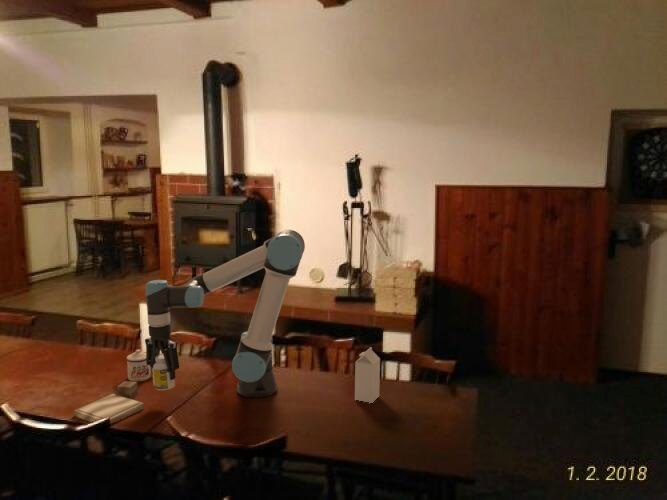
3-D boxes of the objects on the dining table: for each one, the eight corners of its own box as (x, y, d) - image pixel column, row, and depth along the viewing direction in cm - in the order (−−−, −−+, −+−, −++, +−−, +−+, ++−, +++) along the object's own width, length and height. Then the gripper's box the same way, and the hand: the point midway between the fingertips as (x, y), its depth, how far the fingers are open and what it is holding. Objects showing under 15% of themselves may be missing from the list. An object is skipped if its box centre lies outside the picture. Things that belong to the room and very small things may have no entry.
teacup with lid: (129, 383, 212) (128, 355, 211) (125, 376, 220) (124, 348, 218) (160, 378, 218) (159, 350, 216) (155, 370, 226) (154, 344, 224)
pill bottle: (156, 392, 189) (154, 360, 188) (153, 386, 195) (151, 355, 193) (175, 388, 192) (173, 357, 190) (171, 382, 198) (169, 352, 196)
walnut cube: (137, 394, 203) (137, 382, 202) (130, 400, 198) (129, 387, 197) (125, 393, 203) (124, 381, 203) (118, 399, 199) (117, 386, 198)
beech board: (144, 408, 191) (143, 402, 191) (105, 427, 177) (105, 420, 177) (113, 398, 199) (113, 393, 198) (74, 415, 185) (73, 409, 184)
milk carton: (379, 397, 202) (380, 348, 199) (372, 404, 196) (373, 354, 193) (361, 393, 205) (362, 345, 202) (354, 400, 199) (355, 351, 196)
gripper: (187, 324, 189) (191, 387, 192) (148, 318, 198) (153, 377, 201) (171, 330, 182) (176, 394, 186) (131, 323, 192) (137, 385, 195)
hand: (164, 385), depth 194 cm, fingers closed on pill bottle, 6 cm apart
